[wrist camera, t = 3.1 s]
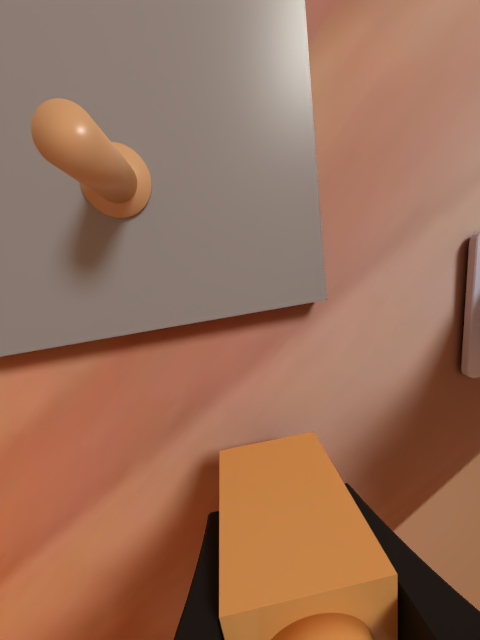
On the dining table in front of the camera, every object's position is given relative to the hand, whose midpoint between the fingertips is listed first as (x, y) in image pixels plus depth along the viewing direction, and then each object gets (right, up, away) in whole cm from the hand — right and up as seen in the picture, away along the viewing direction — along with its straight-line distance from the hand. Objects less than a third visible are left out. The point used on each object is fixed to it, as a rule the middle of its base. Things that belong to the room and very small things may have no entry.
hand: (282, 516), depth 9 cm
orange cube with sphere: (0, 0, +2) cm, 2 cm away
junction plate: (-7, +14, +1) cm, 15 cm away
